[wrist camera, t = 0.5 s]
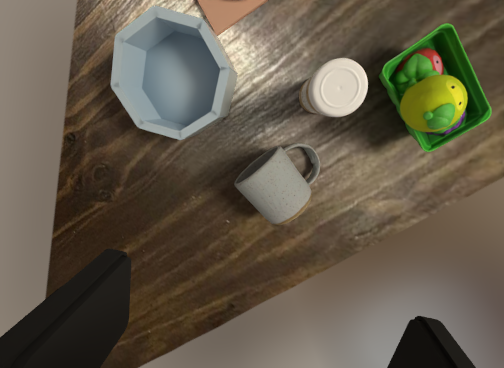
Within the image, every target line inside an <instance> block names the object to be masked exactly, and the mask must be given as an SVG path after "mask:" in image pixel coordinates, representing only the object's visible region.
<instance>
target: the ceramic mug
mask: <svg viewBox="0 0 504 368" xmlns="http://www.w3.org/2000/svg"><path fill="white" fill-rule="evenodd" d="M294 147H302V148H303V149H304V150H305V151H306V153H307V154H308V156H309V158H310V160H311V163H312V164H313V170H312V173H311V175H310V177H309V178H308V179H307V180H306V181H305V179H304V178H303V177H302V175H301V174H300V173H299V172H298V170H297V169H296V167H295V166H294V164H293V163H292V162H291V160H290V159H289V158H288V156H287V155H286V151H287V150H289V149H291V148H294ZM319 171H320V160H319V157H318V155H317V153H316V152H315V150H314V149H313V148H312V147H311V146H310V145H307V144H304V143H296V144H292V145H289V146H287V147H285V148H283V149H282V148H281V147H280V146H276V147H274V148H271V149H270V150H268V151H267V152H265V153H264V154H263V155H261V156H260V157H258V158H257V159H256V160H255V161H253V162H252V163H251V164H250V165H249V166H248V167H247V168H246V169H245V170H244V171H243V172H242V173H241V174H240V175H239V176H238V177H237V179H236V181H235V183H234V185H235V187H236V188H237V189H238V190H239V191H240V192H241V193H242V194H243V195H244V196H245V197H246V198H247V199H248V200H249V202H250V203H251V204H252V205H253V206H254V207H255V208H256V209H257V210H258V211H259V212H260V213H261V214H262V215H263V216H264V217H265V218H266V219H267V220H268V221H270V222H271V223H273V224H275V225H282V224H286V223H288V222H290V221H292V220H294V219H295V218H297V217H298V216H299V215H300V214H301V213H302V212H303V211H304V210H305V209H306V208H307V207H308V205H309V203H310V201H311V198H312V192H311V190H310V187H309V185H310V184H312V182H314V180H315V179H316V178H317V176H318V174H319Z"/></svg>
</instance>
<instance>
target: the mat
mask: <svg viewBox="0 0 504 368" xmlns="http://www.w3.org/2000/svg"><path fill="white" fill-rule="evenodd" d="M267 1H268V0H198V2H199V4H200V6H201V8H202V9H203V11H204V13H205V15H206V17H207V19H208V21H209V22H210V24H211V26H212V28H213V30H214V32H215V33H216V35H217V36H218V35H219V34H221V33H222V32H224V31H225V30H227V29H228V28H230V27H231V26H232V25H234V24H235V23H237V22H238V21H240V20H241V19H242V18H244V17H245V16H247V15H248V14H250V13H251V12H253V11H254V10H255V9H257V8H258V7H260V6H261V5H263V4H264V3H266V2H267Z"/></svg>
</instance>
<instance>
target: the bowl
mask: <svg viewBox="0 0 504 368" xmlns="http://www.w3.org/2000/svg"><path fill="white" fill-rule="evenodd" d="M237 74H238V73H237V72H236V70H235V68H234V66H233V64H232V62H231V60H230V59H229V57H228V55H227V53H226V51H225V49H224V48H223V46H222V44H221V42H220V40H219V38H218V37H217V35H216V34H215V32H214V31H213V30H212V29H211V28H210V27H209V25H208V24H207V23H206V22H205V21H204V20H203V19H201V18H198V17H194V16H191V15H187V14H184V13H180V12H176V11H173V10H169V9H166V8H162V7H159V6H155V7H154V6H152V7H151V8H150V9H148V10H147V11H146V12H144V13H143V14H142V15H141V16H139V17H138V18H137V19H135V20H134V21H133V22H132V23H130V24H129V25H128V26H126V27H125V28H124V29H122V30H121V31H120V32H119V33H117V34H116V36H115V43H114V54H113V65H112V76H111V86H112V87H111V88H112V89H113V91H114V92H115V94H116V95H117V97H118V98H119V100H120V101H121V103H122V104H123V106H124V107H125V109H126V110H127V112H128V113H129V115H130V117H131V118H132V120H133V121H134V123H135V124H136V126H137V127H139V128H140V129H143V130H147V131H150V132H154V133H157V134H161V135H164V136H168V137H171V138H175V139H178V140H183V139H186V138H189V137H192V136H194V135H197V134H199V133H200V132H202V131H204V130H205V129H207V128H209V127H210V126H212V125H214V124H215V123H217V122H219V121H220V120H222V119H224V118H225V117H227V116H228V115H229V111H230V107H231V102H232V98H233V94H234V90H235V85H236V81H237V77H238V75H237Z"/></svg>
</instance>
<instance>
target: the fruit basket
mask: <svg viewBox="0 0 504 368" xmlns="http://www.w3.org/2000/svg"><path fill="white" fill-rule="evenodd" d="M379 78H380V80H381V82H382V84H383V85H384V86H385V87H386V88H387V93H388V95H389V97H390V98H391V100H392V102H393V103H394V104H395V105H396V109H397V111H398V113H399V115H400V117H401V119H402V120H404V121H405V126H406V128H407V130H408V131H409V133H410V134H411V135H412V136H413V138H414V139H415V140H416V141H417V142H418V143H419V145H420V146H421V148H422V149H423V150H424V151H426V152H430V151H433V150H435V149H437V148H439V147H440V146H442V145H444V144H446V143H448V142H450V141H451V140H453V139H455V138H457V137H458V136H460V135H462V134H464V133H465V132H467V131H469V130H471V129H472V128H474V127H476V126H478V125H480V124H481V123H483V122H485V121H486V120H487V119H489V117H490V115H491V107H490V105H489V103H488V101H487V99H486V97H485V94H484V92H483V90H482V88H481V86H480V84H479V82H478V79H477V77H476V75H475V73H474V71H473V68H472V66H471V64H470V62H469V60H468V57H467V55H466V53H465V51H464V49H463V46H462V44H461V42H460V40H459V37H458V35H457V33H456V30H455V28H454V27H453V25H451V24H448V23H446V24H443V25H441V26H439V27H438V28H436V29H435V30H434V31H432V32H431V33H429V34H428V35H427V36H425V37H424V38H422V39H421V40H419V41H418V42H417V43H415V44H414V45H412V46H411V47H409V48H408V49H406V50H405V51H403V52H402V53H400V54H399V55H397V56H396V57H394V58H393V59H391V60H390V61H388V62H387V63H386V64H385V65H384V67H383V69H382V72H381V73H380V75H379Z"/></svg>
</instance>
